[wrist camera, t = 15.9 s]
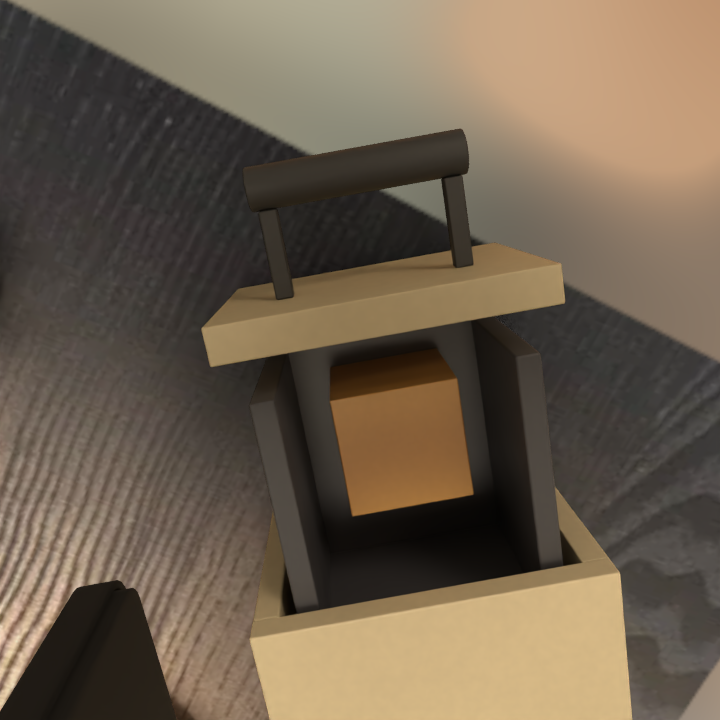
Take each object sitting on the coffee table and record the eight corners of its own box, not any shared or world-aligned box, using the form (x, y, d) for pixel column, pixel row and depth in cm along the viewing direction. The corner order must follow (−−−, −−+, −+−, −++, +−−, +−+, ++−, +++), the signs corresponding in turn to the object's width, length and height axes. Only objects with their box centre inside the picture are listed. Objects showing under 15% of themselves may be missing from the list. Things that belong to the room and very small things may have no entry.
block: (329, 367, 26) (329, 400, 22) (437, 347, 26) (457, 377, 22) (348, 466, 28) (352, 517, 23) (452, 448, 28) (474, 495, 23)
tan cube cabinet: (274, 497, 30) (248, 639, 21) (529, 451, 30) (620, 572, 21) (329, 741, 34) (329, 958, 24) (558, 700, 34) (648, 901, 24)
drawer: (213, 180, 26) (163, 176, 18) (482, 131, 26) (547, 106, 18) (298, 561, 30) (287, 688, 22) (528, 519, 30) (597, 633, 22)
